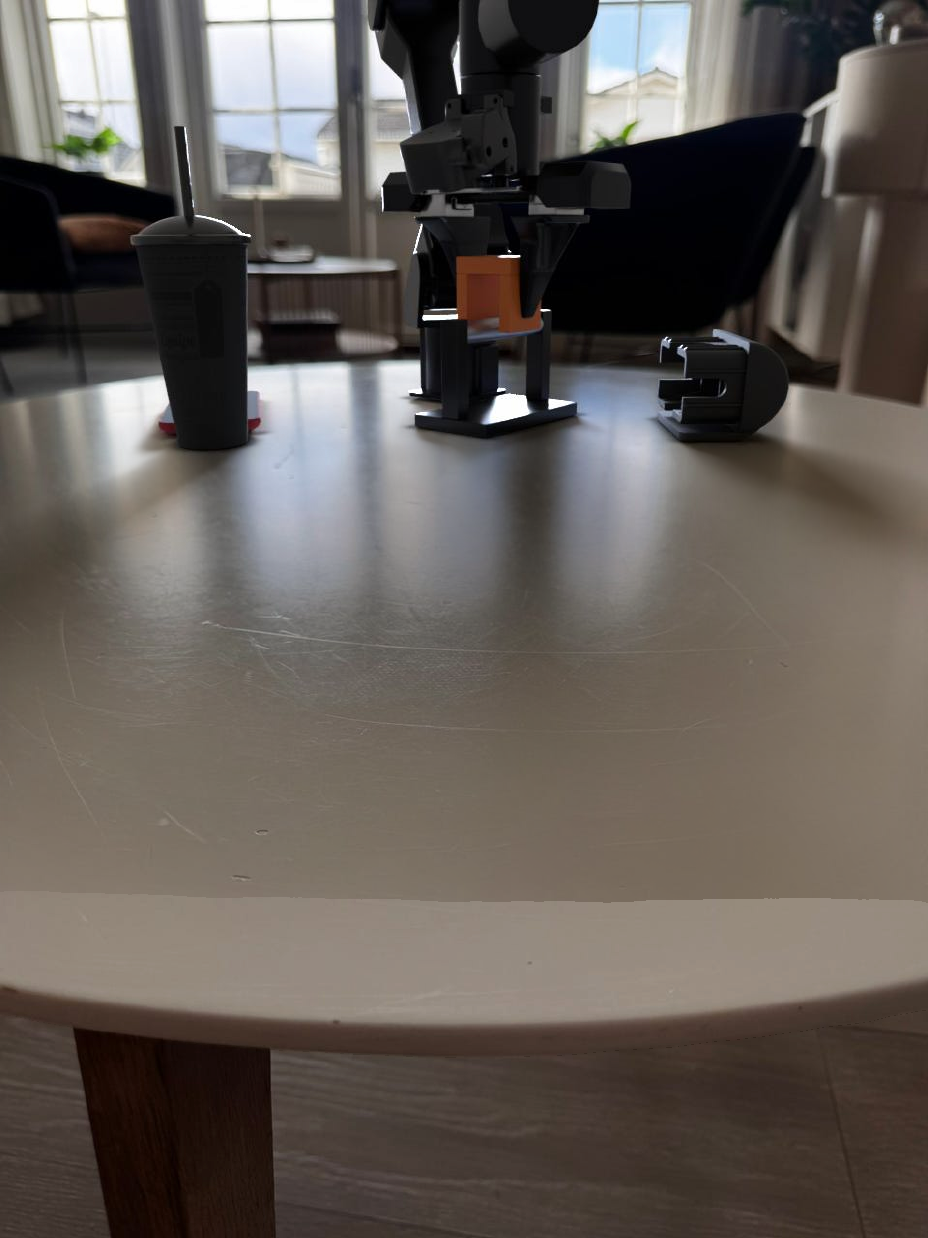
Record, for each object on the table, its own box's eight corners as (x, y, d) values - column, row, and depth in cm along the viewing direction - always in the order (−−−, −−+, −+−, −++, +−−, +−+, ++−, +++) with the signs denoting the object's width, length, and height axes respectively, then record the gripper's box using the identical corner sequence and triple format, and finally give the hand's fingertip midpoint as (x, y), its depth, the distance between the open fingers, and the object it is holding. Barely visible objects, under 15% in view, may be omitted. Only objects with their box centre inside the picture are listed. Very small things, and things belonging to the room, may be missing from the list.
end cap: (782, 442, 64) (795, 342, 62) (681, 443, 64) (689, 342, 62) (743, 416, 74) (753, 328, 71) (654, 417, 74) (660, 328, 71)
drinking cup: (287, 435, 68) (263, 129, 60) (231, 457, 61) (196, 116, 54) (198, 429, 70) (164, 134, 63) (135, 450, 64) (88, 122, 56)
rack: (414, 427, 71) (411, 317, 68) (508, 405, 79) (509, 307, 76) (486, 438, 67) (486, 322, 64) (577, 414, 75) (581, 311, 72)
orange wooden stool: (456, 329, 70) (456, 256, 68) (488, 325, 73) (489, 255, 71) (509, 333, 67) (510, 257, 65) (540, 329, 70) (542, 255, 68)
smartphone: (259, 390, 82) (260, 418, 68) (260, 400, 82) (261, 431, 69) (173, 393, 81) (157, 423, 67) (174, 403, 81) (158, 435, 67)
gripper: (322, 80, 64) (335, 317, 70) (545, 47, 53) (538, 332, 59) (428, 96, 72) (432, 308, 78) (642, 70, 61) (627, 319, 67)
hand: (498, 316), depth 70 cm, fingers closed on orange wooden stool, 5 cm apart
